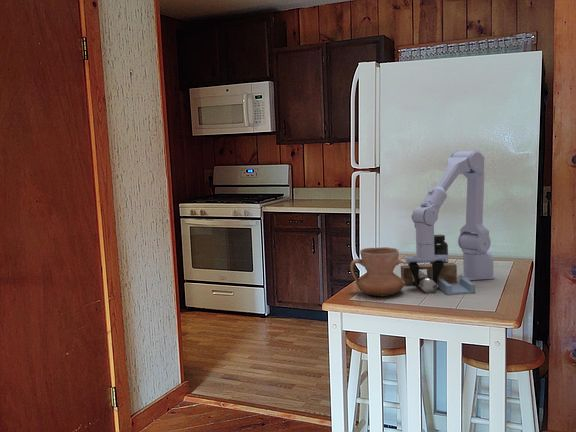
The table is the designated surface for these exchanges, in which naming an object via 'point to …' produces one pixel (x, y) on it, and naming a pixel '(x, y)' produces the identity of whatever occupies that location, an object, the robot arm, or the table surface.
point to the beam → (431, 273)
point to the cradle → (457, 287)
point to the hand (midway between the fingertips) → (426, 284)
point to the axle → (426, 283)
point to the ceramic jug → (379, 271)
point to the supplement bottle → (440, 246)
